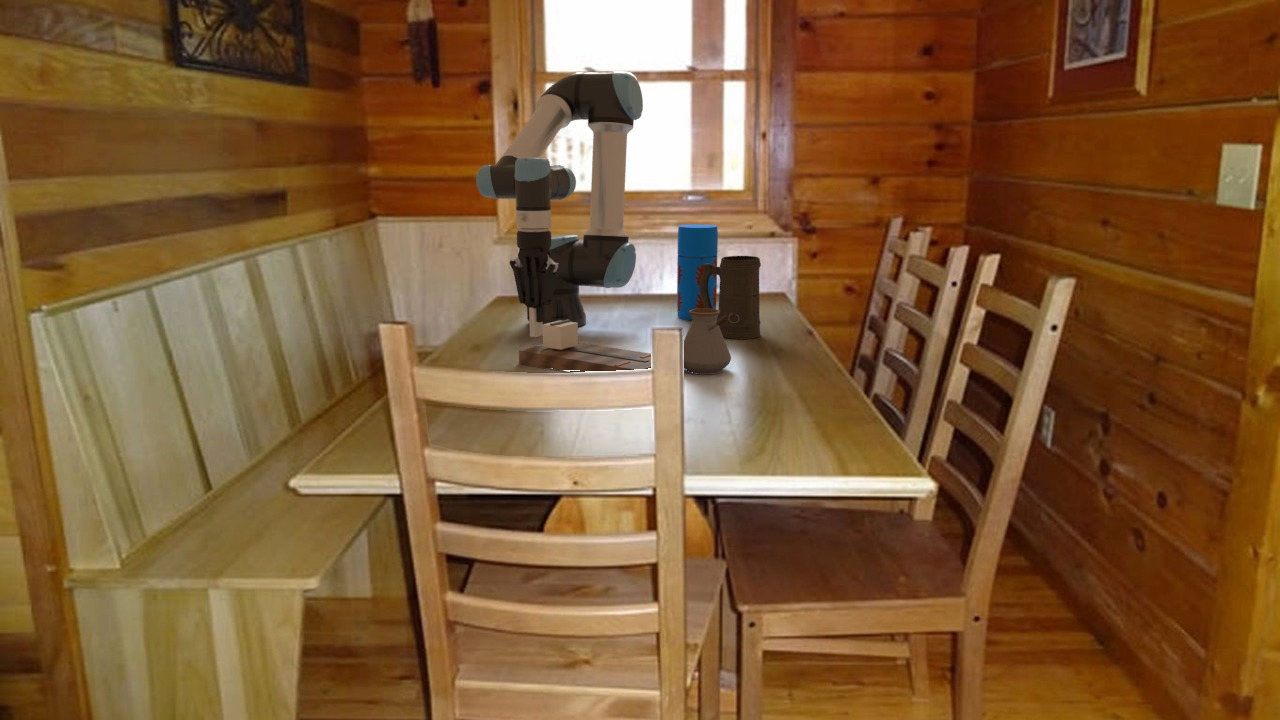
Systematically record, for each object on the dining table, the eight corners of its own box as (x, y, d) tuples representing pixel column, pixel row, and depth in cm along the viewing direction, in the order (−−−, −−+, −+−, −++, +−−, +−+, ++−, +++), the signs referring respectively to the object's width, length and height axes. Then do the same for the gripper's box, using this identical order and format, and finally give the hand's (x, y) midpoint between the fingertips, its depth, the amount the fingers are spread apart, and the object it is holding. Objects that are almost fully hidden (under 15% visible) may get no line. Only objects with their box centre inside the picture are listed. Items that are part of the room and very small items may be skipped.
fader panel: (519, 363, 205) (518, 349, 204) (560, 352, 216) (559, 338, 215) (639, 384, 187) (639, 369, 186) (677, 371, 198) (677, 356, 197)
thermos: (721, 315, 263) (723, 225, 257) (707, 321, 254) (709, 228, 248) (685, 312, 267) (686, 224, 262) (670, 318, 258) (671, 226, 252)
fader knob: (543, 346, 205) (542, 322, 204) (560, 342, 210) (560, 318, 209) (560, 349, 202) (560, 325, 201) (578, 344, 207) (577, 320, 206)
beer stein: (762, 331, 240) (759, 253, 236) (764, 339, 230) (760, 258, 225) (702, 334, 242) (698, 256, 238) (701, 342, 231) (697, 261, 227)
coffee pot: (669, 366, 203) (669, 297, 199) (718, 362, 206) (719, 295, 203) (705, 390, 183) (707, 314, 180) (759, 386, 186) (762, 311, 183)
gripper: (499, 229, 205) (503, 335, 210) (545, 232, 198) (547, 342, 203) (522, 227, 211) (525, 330, 216) (568, 230, 204) (569, 336, 209)
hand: (536, 335), depth 210 cm, fingers closed
